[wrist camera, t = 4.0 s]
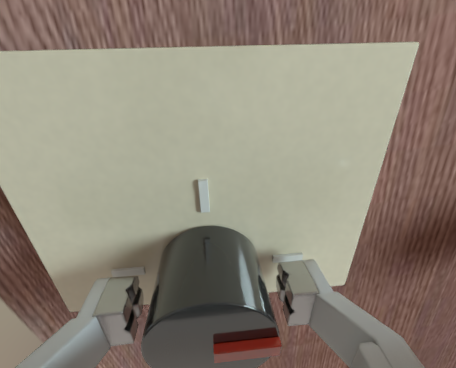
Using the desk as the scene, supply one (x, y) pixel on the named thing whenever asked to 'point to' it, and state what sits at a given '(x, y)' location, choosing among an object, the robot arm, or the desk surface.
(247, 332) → the burner knob
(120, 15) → the desk surface
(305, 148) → the stove panel
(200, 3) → the desk surface
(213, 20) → the desk surface
